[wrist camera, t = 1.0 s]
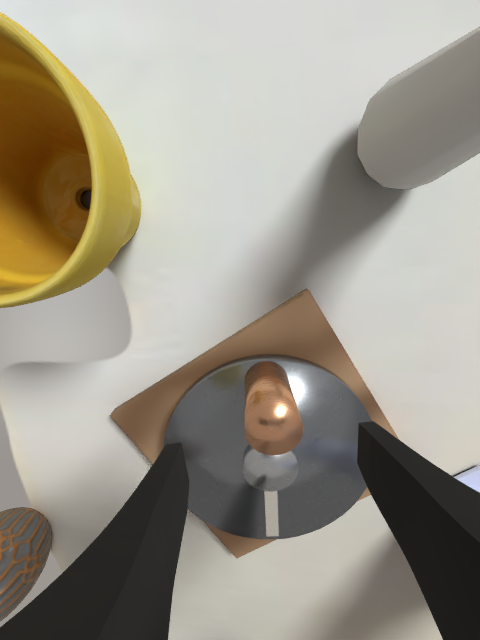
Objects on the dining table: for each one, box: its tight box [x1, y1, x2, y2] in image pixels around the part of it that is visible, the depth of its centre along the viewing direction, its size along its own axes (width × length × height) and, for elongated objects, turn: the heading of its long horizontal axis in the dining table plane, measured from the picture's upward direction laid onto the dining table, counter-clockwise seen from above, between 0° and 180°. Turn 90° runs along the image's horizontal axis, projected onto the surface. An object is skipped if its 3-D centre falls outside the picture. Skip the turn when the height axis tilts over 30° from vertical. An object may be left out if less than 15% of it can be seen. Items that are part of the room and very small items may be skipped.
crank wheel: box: [163, 354, 372, 539], centre depth 20 cm, size 16×16×7 cm
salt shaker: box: [357, 27, 480, 189], centre depth 12 cm, size 6×6×13 cm
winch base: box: [110, 289, 398, 558], centre depth 24 cm, size 18×18×1 cm
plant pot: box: [0, 12, 141, 308], centre depth 15 cm, size 10×10×10 cm
